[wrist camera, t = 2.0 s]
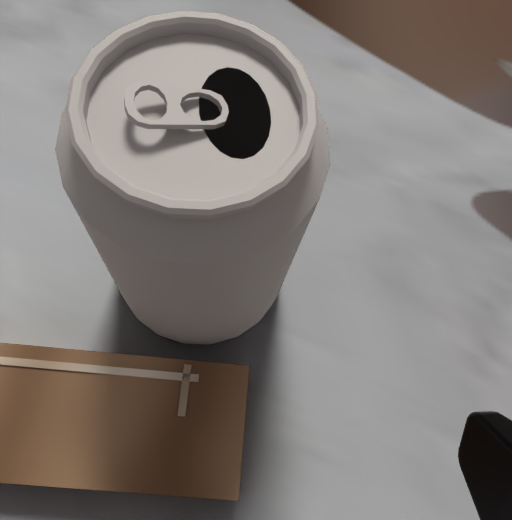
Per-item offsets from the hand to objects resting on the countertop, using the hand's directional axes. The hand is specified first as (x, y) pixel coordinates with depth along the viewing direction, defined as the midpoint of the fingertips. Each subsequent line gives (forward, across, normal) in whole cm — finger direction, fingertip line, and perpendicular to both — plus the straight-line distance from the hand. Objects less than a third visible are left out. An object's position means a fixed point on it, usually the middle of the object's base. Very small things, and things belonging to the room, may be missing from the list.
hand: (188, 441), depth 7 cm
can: (+15, 0, +4) cm, 16 cm away
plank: (+11, +6, +8) cm, 15 cm away
